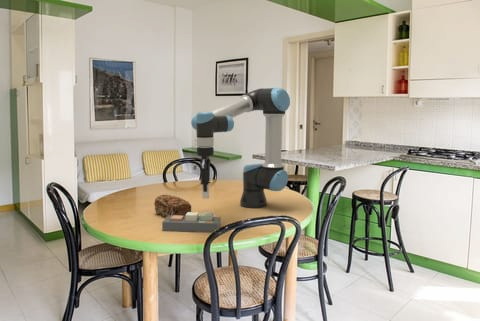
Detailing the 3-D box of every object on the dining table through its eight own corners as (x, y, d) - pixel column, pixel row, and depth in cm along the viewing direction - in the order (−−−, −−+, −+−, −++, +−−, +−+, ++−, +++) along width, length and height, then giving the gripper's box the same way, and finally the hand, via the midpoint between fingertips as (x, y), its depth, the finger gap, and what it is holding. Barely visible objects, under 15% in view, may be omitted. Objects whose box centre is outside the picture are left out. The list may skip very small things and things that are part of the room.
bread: (154, 214, 209) (153, 195, 207) (171, 210, 216) (170, 192, 215) (175, 222, 196) (174, 201, 194) (192, 217, 203) (192, 198, 202)
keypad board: (220, 225, 190) (220, 216, 190) (217, 232, 180) (217, 223, 179) (168, 223, 193) (168, 214, 192) (162, 230, 182) (162, 221, 181)
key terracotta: (183, 222, 189) (183, 215, 188) (181, 226, 184) (181, 218, 183) (173, 222, 189) (173, 215, 189) (170, 225, 184) (170, 218, 184)
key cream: (198, 219, 188) (198, 212, 187) (196, 222, 183) (196, 215, 182) (187, 219, 188) (187, 212, 188) (185, 222, 183) (185, 215, 183)
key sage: (213, 220, 187) (213, 212, 187) (211, 223, 182) (211, 215, 182) (202, 219, 188) (202, 212, 187) (200, 222, 183) (200, 215, 182)
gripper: (199, 145, 187) (200, 194, 190) (193, 148, 174) (194, 201, 178) (215, 145, 186) (216, 195, 190) (211, 148, 173) (211, 201, 177)
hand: (205, 198), depth 184 cm, fingers closed
